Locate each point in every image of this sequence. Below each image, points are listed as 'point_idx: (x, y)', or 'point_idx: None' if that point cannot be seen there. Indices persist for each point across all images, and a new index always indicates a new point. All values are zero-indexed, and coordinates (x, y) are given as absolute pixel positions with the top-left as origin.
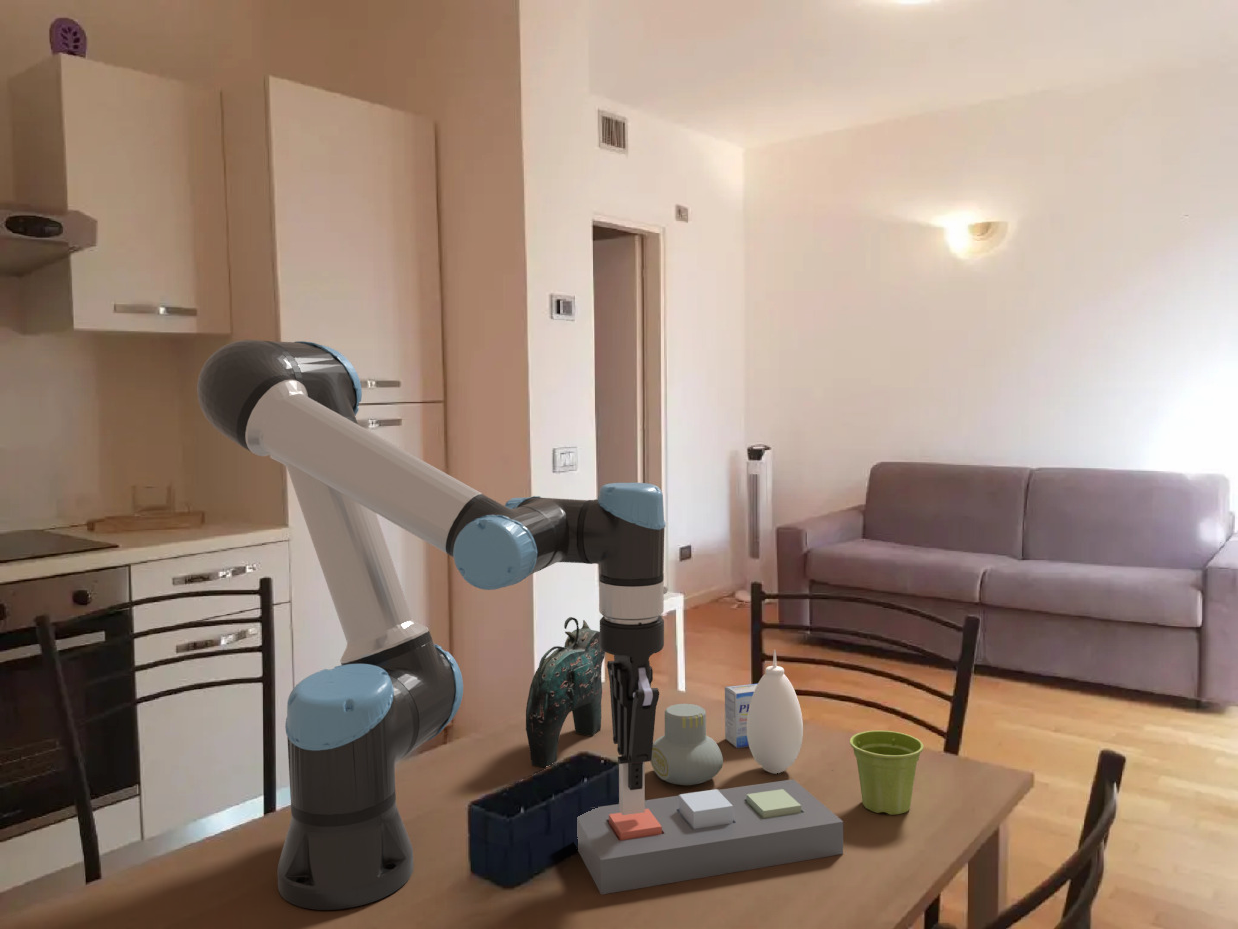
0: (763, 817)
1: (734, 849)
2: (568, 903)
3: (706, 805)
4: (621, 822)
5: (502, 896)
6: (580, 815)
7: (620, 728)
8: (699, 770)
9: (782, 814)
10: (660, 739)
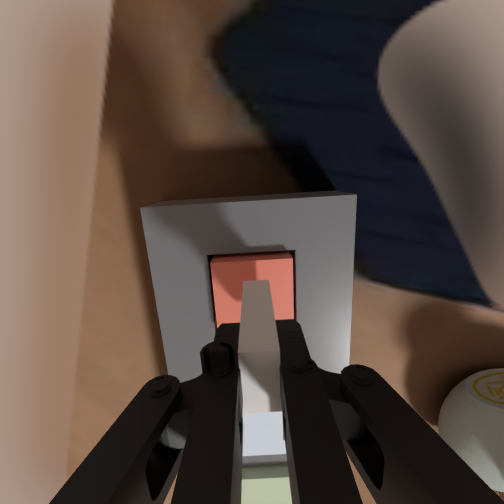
0: None
1: None
2: (144, 145)
3: None
4: (251, 273)
5: (184, 30)
6: (330, 205)
7: (294, 451)
8: (445, 434)
9: None
10: None
